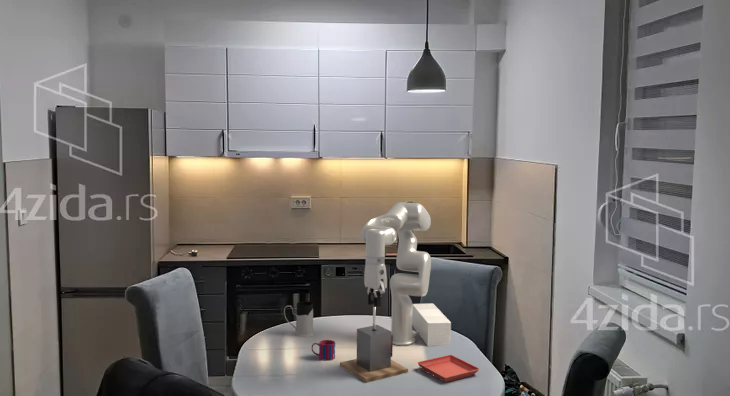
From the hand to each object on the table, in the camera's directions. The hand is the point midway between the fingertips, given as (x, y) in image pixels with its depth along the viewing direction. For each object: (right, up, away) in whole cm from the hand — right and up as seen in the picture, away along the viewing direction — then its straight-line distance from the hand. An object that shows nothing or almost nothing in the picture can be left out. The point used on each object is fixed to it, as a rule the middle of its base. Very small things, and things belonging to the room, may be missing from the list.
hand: (374, 304), depth 251 cm
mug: (-21, -25, +15) cm, 36 cm away
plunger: (0, -17, +2) cm, 17 cm away
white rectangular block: (+27, -23, +48) cm, 60 cm away
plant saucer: (+30, -28, +1) cm, 41 cm away
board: (0, -27, +3) cm, 27 cm away
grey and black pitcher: (-35, -22, +46) cm, 62 cm away
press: (+1, -25, +3) cm, 25 cm away
